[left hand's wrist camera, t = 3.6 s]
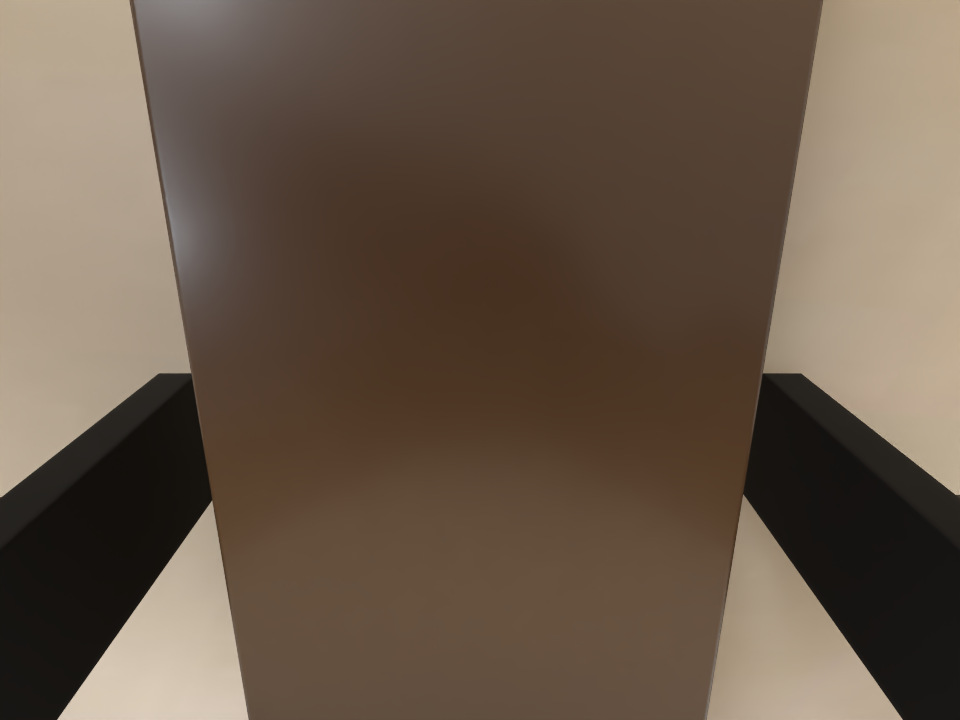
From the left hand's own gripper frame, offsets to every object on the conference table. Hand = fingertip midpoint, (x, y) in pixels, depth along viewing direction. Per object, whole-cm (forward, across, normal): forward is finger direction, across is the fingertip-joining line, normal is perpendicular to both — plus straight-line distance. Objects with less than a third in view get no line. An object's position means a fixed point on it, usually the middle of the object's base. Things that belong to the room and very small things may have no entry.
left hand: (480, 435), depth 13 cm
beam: (+2, 0, -35) cm, 35 cm away
